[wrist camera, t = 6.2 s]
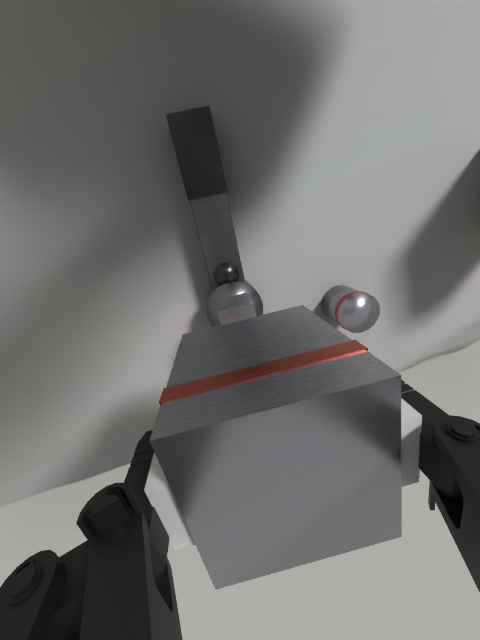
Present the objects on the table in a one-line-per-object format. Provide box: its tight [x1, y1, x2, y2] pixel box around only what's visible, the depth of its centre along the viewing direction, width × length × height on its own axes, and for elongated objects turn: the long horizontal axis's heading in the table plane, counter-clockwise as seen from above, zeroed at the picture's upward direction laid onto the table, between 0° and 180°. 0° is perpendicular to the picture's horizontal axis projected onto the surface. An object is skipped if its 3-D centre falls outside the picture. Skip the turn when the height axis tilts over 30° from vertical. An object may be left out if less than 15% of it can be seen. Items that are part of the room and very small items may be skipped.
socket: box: [150, 305, 401, 589], centre depth 10 cm, size 6×6×7 cm
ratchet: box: [166, 106, 263, 327], centre depth 21 cm, size 19×6×7 cm, turn 13°
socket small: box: [322, 285, 380, 333], centre depth 26 cm, size 4×4×4 cm
